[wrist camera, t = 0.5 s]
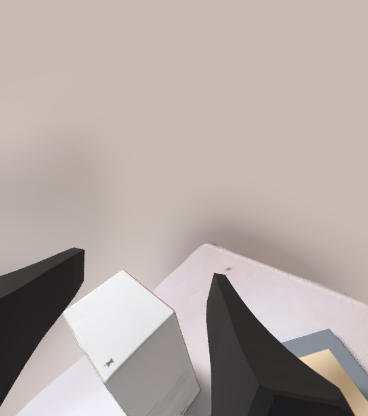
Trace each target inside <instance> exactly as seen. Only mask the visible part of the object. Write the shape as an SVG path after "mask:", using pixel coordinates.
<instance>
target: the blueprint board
mask: <svg viewBox="0 0 368 416" xmlns="http://www.w3.org/2000/svg"><path fill="white" fill-rule="evenodd" d="M281 344H283V345H284V346H285V347H286V348H287V349H288V350H289V351H290V352H292V353H293V354H294V355H295V356H296V357H298V358H300V357H304V356H307V355H310V354H313V353H316V352H320V351H323V350H326V349H329V350H330V352H331V353H332V354H333V356H334V357H335V358H336V360H337V361H338V362H339V364H340V365H341V366H342V368H343V369H344V370H345V372H346V373H347V374H348V376H349V377H350V378H351V380H352V381H353V383H354V384H355V385H356V387H357V388H358V389H359V391H360V392H361V393H362V395H363V396H364V397H365V399H366V400H367V401H368V376H367V374H366V373H365V372H364V371H363V369H362V368H361V367H360V366H359V364H358V363H357V362H356V361H355V360H354V358H353V357H352V356H351V355H350V353H349V352H348V351H347V350H346V348H345V347H344V346H343V345H342V343H341V342H340V341H339V340H338V339H337V337H336V336H335V335H334V334H333V332H332V331H331V330H330V329H326V330H323V331H319V332H316V333H313V334H310V335H306V336H303V337H300V338H296V339H293V340H290V341H286V342H283V343H281Z"/></svg>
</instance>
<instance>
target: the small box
mask: <svg viewBox="0 0 368 416" xmlns="http://www.w3.org/2000/svg"><path fill="white" fill-rule="evenodd" d="M63 316H64V317H65V320H66V321H67V323H68V325H69V327H70V328H71V331H72V332H73V334H74V336H75V338H76V340H77V342H78V344H79V345H80V347H81V349H82V351H83V352H84V354H85V355H86V356H87V358H88V359H89V361H90V363H91V364H92V366H93V368H94V369H95V371H96V372H97V374H98V376H99V377H100V379H101V380H102V382H103V384H104V385H105V386H106V388H107V389H108V391H109V392H110V393H111V395H112V396H113V398H114V399H115V400H116V402H117V403H118V404H119V406H120V407H121V409H122V410H123V411H124V413H125V414H126V415H127V416H183V415H184V413H185V412H186V410H187V409H188V408H189V406H190V405H191V403H192V402H193V400H194V399H195V398H196V396H197V395H198V393H199V392H200V388H199V384H198V381H197V378H196V375H195V372H194V369H193V366H192V363H191V360H190V357H189V354H188V350H187V348H186V344H185V341H184V338H183V335H182V332H181V329H180V326H179V323H178V320H177V316H176V313H175V311H174V310H173V309H172V308H171V307H169V306H168V305H167V304H166V303H164V302H163V301H162V300H161V299H159V298H158V297H157V296H156V295H154V294H153V293H152V292H151V291H149V290H148V289H147V288H146V287H144V286H143V285H142V284H141V283H140V282H138V281H137V280H136V279H135V278H133V277H132V276H131V275H130V274H128V273H127V272H126V271H124V270H121V271H120V272H119V273H118V274H116V275H114V276H113V277H112V278H111V279H109V280H107V281H106V282H105V283H103V284H102V285H100V286H99V287H97V288H96V289H95V290H93V291H92V292H91V293H89V294H88V295H86V296H85V297H84V298H82V299H81V300H79V301H78V302H76V303H75V304H74V305H72V306H71V307H70V308H68V309H67V310H65V311H64V312H63Z"/></svg>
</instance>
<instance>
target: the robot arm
mask: <svg viewBox="0 0 368 416" xmlns="http://www.w3.org/2000/svg"><path fill="white" fill-rule="evenodd" d="M84 254H85V250H83V249H78V248H71V249H69V250H66V251H64V252H61V253H59V254H57V255H54V256H52V257H49V258H47V259H45V260H42V261H40V262H38V263H35V264H32V265H30V266H28V267H25V268H22V269H19V270H17V271H14V272H11V273H8V274H5V275H2V276H0V406H1V404H2V403H3V401H4V399H5V398H6V396H7V394H8V392H9V391H10V389H11V387H12V385H13V384H14V382H15V381H16V379H17V377H18V376H19V374H20V372H21V370H22V369H23V368H24V366H25V364H26V363H27V361H28V360H29V358H30V357H31V355H32V353H33V352H34V350H35V349H36V347H37V346H38V344H39V343H40V341H41V340H42V338H43V337H44V336H45V334H46V333H47V332H48V330H49V329H50V328H51V327H52V325H53V324H54V323H55V321H56V320H57V319H58V317H59V316H60V315H61V314H62V312H63V311H64V310H65V308H66V307H67V306H68V305H69V303H70V302H71V300H72V299H73V298H74V297H75V295H76V293H77V292H78V290H79V288H80V287H81V284H82V283H83V281H84ZM206 323H207V333H208V343H209V353H210V363H211V395H212V416H355V414H354V412H353V411H352V409H351V407H350V405H349V403H348V402H347V400H346V398H345V396H344V395H343V393H342V392H341V390H340V388H339V387H337V386H336V385H334V384H333V383H331V382H330V381H329V380H327V379H326V378H324V377H323V376H321V375H320V374H319V373H317V372H316V371H314V370H313V369H312V368H310V367H309V366H308V365H306V364H305V363H304V362H303V361H301V360H300V359H299V358H298V357H296V356H295V355H294V354H293V353H292V352H290V351H289V350H288V349H287V348H286V347H285V346H284V345H283V344H281V343H280V342H279V341H278V340H277V339H276V338H275V337H274V336H273V335H272V334H271V333H270V332H269V331H268V330H267V329H266V328H265V327H264V326H263V325H262V324H261V323H260V322H259V320H258V319H257V318H256V317H255V316H254V315H253V313H252V312H251V311H250V310H249V308H248V307H247V306H246V305H245V303H244V302H243V301H242V299H241V298H240V296H239V295H238V294H237V292H236V291H235V289H234V288H233V286H232V285H231V283H230V281H229V280H228V278H227V277H226V275H223V274H217V273H214V275H213V279H212V284H211V288H210V292H209V296H208V300H207V310H206Z"/></svg>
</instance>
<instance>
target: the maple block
mask: <svg viewBox="0 0 368 416" xmlns="http://www.w3.org/2000/svg"><path fill="white" fill-rule="evenodd" d="M299 359H300V360H301V361H303V362H304V363H305V364H306V365H308V366H309V367H310V368H312V369H313V370H314V371H316V372H317V373H319V374H320V375H321V376H323V377H324V378H326V379H327V380H329V381H330V382H331V383H333V384H334V385H336V386H337V387H339V388H340V390H341V392H342V393H343V395H344V396H345V398H346V400H347V402H348V403H349V405H350V407H351V409H352V411H353V412H354V414H355V416H368V401H367V400H366V399H365V397H364V396H363V395H362V393H361V392H360V391H359V389H358V388H357V387H356V385H355V384H354V383H353V381H352V380H351V378H350V377H349V376H348V374H347V373H346V372H345V370H344V369H343V368H342V366H341V365H340V364H339V362H338V361H337V360H336V358H335V357H334V356H333V354H332V353H331V352H330V350H329V349H326V350H323V351H320V352H316V353H313V354H310V355H307V356H304V357H300V358H299Z"/></svg>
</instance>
